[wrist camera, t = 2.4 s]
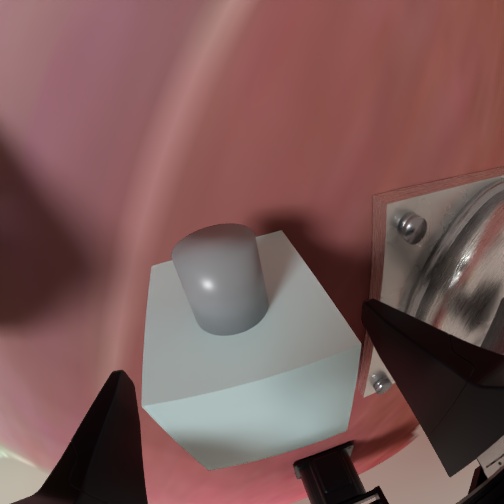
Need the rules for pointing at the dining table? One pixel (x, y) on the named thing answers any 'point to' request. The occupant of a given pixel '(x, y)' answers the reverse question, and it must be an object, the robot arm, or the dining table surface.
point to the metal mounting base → (440, 262)
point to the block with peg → (244, 349)
